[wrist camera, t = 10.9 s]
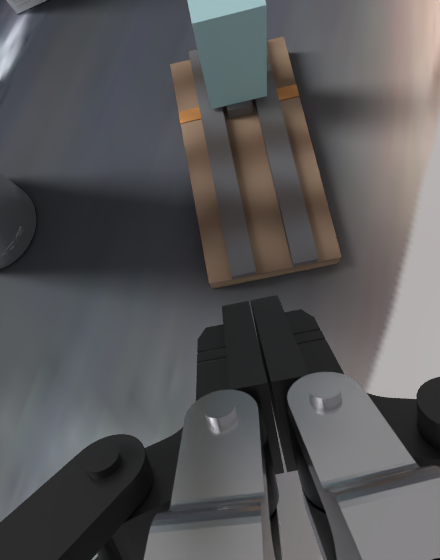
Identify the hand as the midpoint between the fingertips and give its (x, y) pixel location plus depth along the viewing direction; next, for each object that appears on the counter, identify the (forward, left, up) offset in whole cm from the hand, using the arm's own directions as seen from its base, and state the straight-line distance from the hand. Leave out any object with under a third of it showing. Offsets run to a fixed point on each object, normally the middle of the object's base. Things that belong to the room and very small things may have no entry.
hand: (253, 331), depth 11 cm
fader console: (-12, +13, -23) cm, 29 cm away
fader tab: (-16, +17, -21) cm, 32 cm away
